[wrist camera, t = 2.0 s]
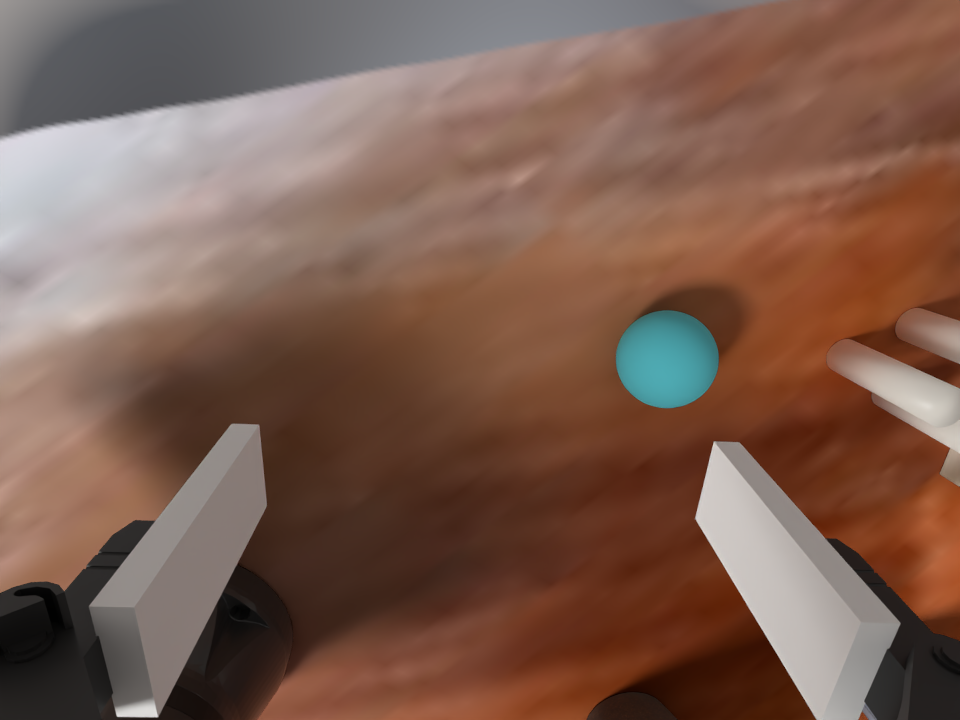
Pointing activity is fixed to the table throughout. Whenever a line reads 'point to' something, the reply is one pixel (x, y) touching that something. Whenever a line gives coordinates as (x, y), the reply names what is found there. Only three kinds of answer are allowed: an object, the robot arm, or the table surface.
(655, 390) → the ball
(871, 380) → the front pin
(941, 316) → the pin
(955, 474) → the back wall
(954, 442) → the pin
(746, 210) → the table surface
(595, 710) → the plant pot
